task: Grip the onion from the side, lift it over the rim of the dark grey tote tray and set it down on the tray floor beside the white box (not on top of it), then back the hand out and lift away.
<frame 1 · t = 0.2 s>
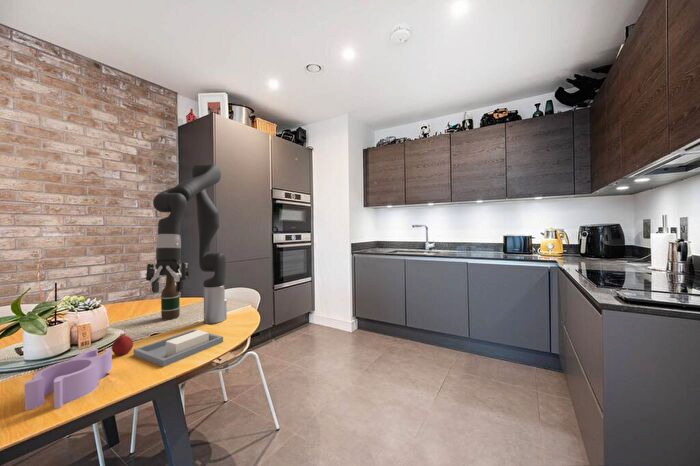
hand: (167, 292, 100), 22 cm above the table, tool pointing down, fingers open, 8 cm apart
beer bottle: (170, 318, 141), on the table
tote tray: (180, 350, 103), on the table
clip: (76, 388, 79), on the table
onion: (122, 356, 99), on the table
white box: (188, 350, 101), point 1 cm above the table, touching tote tray
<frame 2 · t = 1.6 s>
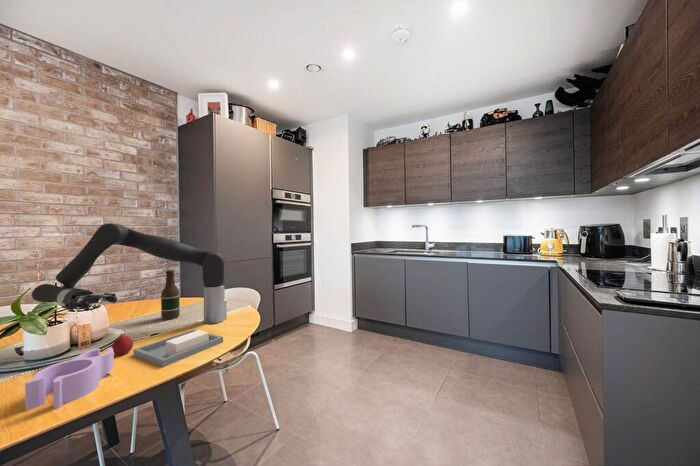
hand: (102, 302, 102), 18 cm above the table, tool horizontal, fingers open, 8 cm apart
nothing on the table moved.
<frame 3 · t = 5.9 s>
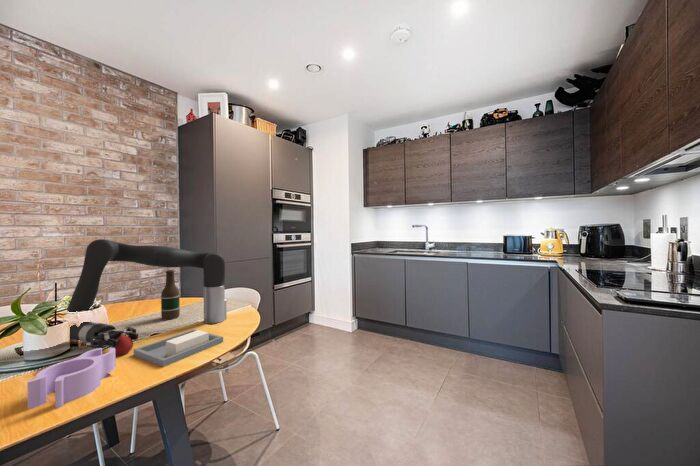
hand: (127, 340, 98), 6 cm above the table, tool horizontal, fingers closed on onion, 5 cm apart
onion: (122, 356, 99), on the table, touching gripper
everything else where it was.
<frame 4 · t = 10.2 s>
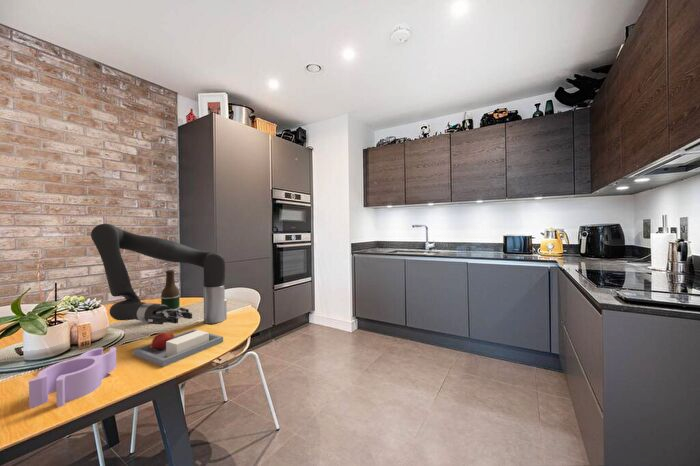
hand: (184, 318, 105), 11 cm above the table, tool horizontal, fingers open, 5 cm apart
onion: (174, 334, 104), point 6 cm above the table, touching tote tray
everything else where it was.
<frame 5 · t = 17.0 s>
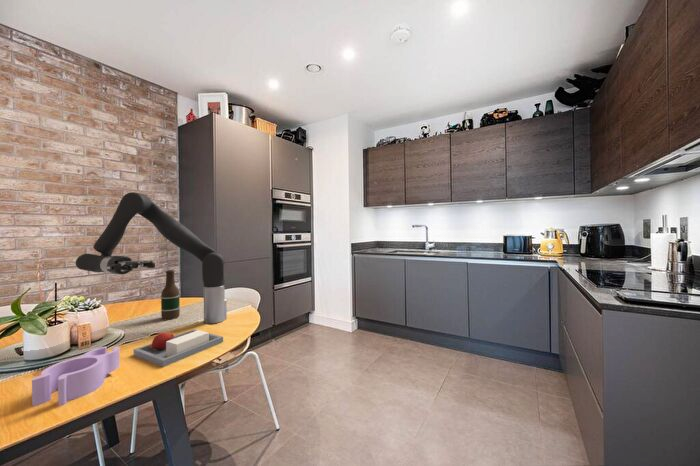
hand: (143, 266, 111), 30 cm above the table, tool horizontal, fingers open, 8 cm apart
at the end: onion inside the target area on the tote tray (3.6 cm from its centre), point 5.6 cm above the tote tray's base; onion touching tote tray; the gripper is holding nothing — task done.
